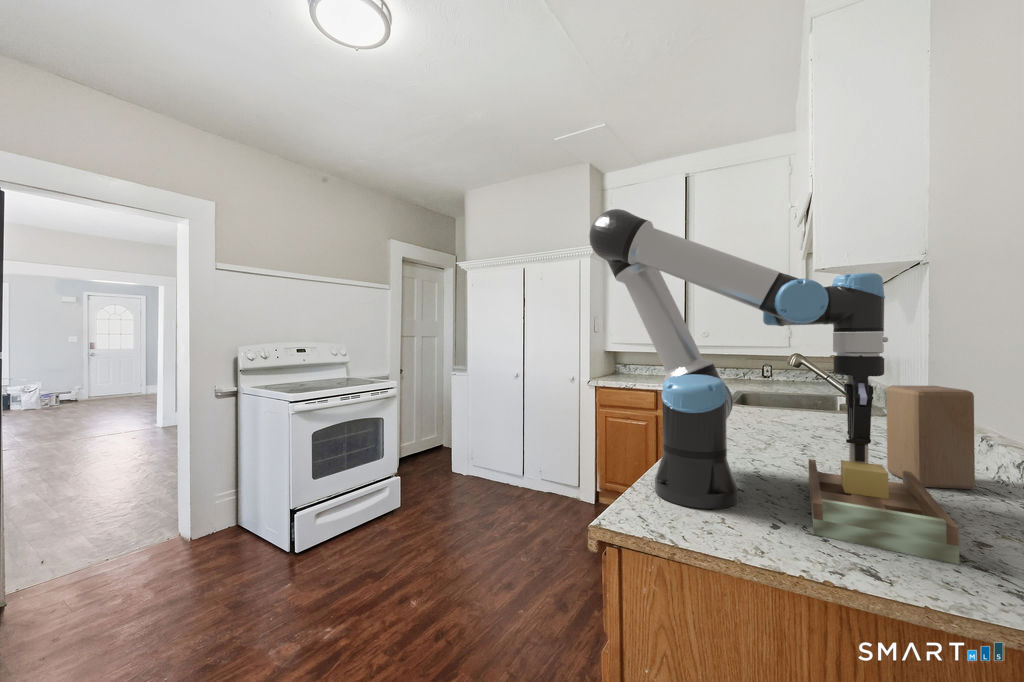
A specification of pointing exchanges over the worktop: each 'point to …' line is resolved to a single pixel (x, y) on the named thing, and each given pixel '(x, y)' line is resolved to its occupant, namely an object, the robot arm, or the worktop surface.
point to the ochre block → (864, 479)
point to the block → (931, 435)
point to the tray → (883, 517)
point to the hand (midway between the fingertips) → (858, 476)
